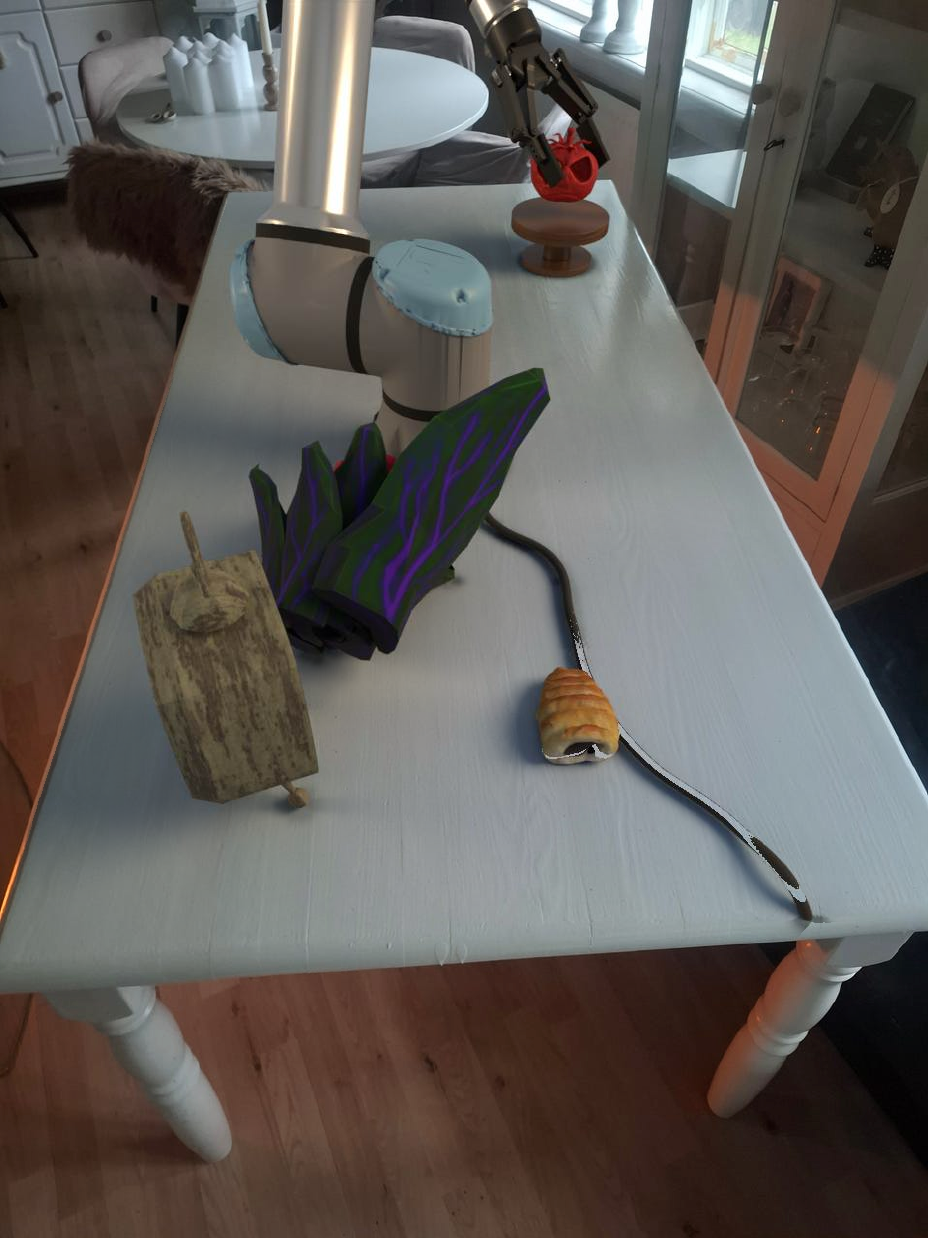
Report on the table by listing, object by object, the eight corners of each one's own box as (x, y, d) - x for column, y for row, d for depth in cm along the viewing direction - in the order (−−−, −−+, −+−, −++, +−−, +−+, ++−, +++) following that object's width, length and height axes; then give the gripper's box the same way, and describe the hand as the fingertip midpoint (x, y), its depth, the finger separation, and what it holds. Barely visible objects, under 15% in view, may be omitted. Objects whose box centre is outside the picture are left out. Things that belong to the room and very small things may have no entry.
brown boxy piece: (328, 816, 67) (283, 586, 49) (212, 856, 65) (120, 629, 47) (283, 683, 77) (231, 448, 58) (179, 713, 74) (92, 478, 56)
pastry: (527, 681, 77) (530, 653, 74) (601, 677, 77) (607, 649, 75) (542, 770, 71) (546, 742, 68) (623, 765, 71) (630, 737, 68)
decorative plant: (287, 695, 87) (393, 469, 101) (507, 718, 73) (596, 451, 86) (141, 577, 73) (287, 331, 86) (379, 576, 58) (510, 281, 72)
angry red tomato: (530, 181, 133) (535, 114, 127) (595, 185, 133) (603, 118, 126) (526, 206, 126) (530, 136, 120) (594, 210, 126) (602, 140, 119)
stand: (614, 280, 133) (621, 232, 127) (518, 285, 131) (521, 236, 126) (591, 239, 143) (596, 193, 138) (501, 244, 141) (504, 197, 136)
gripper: (543, 29, 130) (611, 169, 134) (437, 56, 119) (514, 207, 123) (574, -8, 124) (644, 140, 128) (464, 17, 113) (545, 178, 117)
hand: (580, 173), depth 125 cm, fingers closed on angry red tomato, 9 cm apart
